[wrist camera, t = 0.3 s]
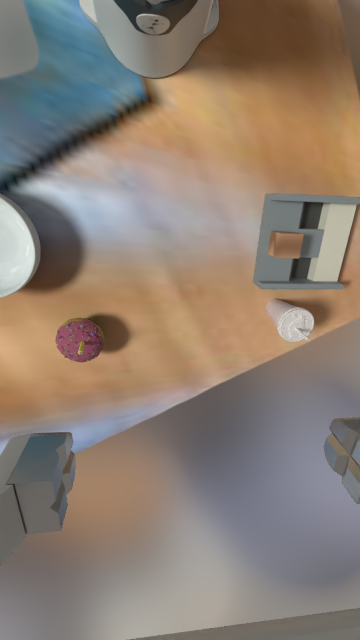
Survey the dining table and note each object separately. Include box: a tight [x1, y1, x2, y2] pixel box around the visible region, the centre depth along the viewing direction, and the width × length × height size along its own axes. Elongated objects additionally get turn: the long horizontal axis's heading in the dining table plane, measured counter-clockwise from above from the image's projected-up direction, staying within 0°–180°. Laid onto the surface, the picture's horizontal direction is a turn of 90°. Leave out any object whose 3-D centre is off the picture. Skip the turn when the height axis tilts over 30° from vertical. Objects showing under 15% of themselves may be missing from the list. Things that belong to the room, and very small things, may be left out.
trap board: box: [253, 193, 360, 289], centre depth 52 cm, size 16×16×4 cm
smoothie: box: [266, 299, 314, 342], centre depth 52 cm, size 6×6×14 cm
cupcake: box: [56, 318, 104, 362], centre depth 51 cm, size 9×8×12 cm
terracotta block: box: [268, 231, 304, 258], centre depth 49 cm, size 4×4×4 cm
